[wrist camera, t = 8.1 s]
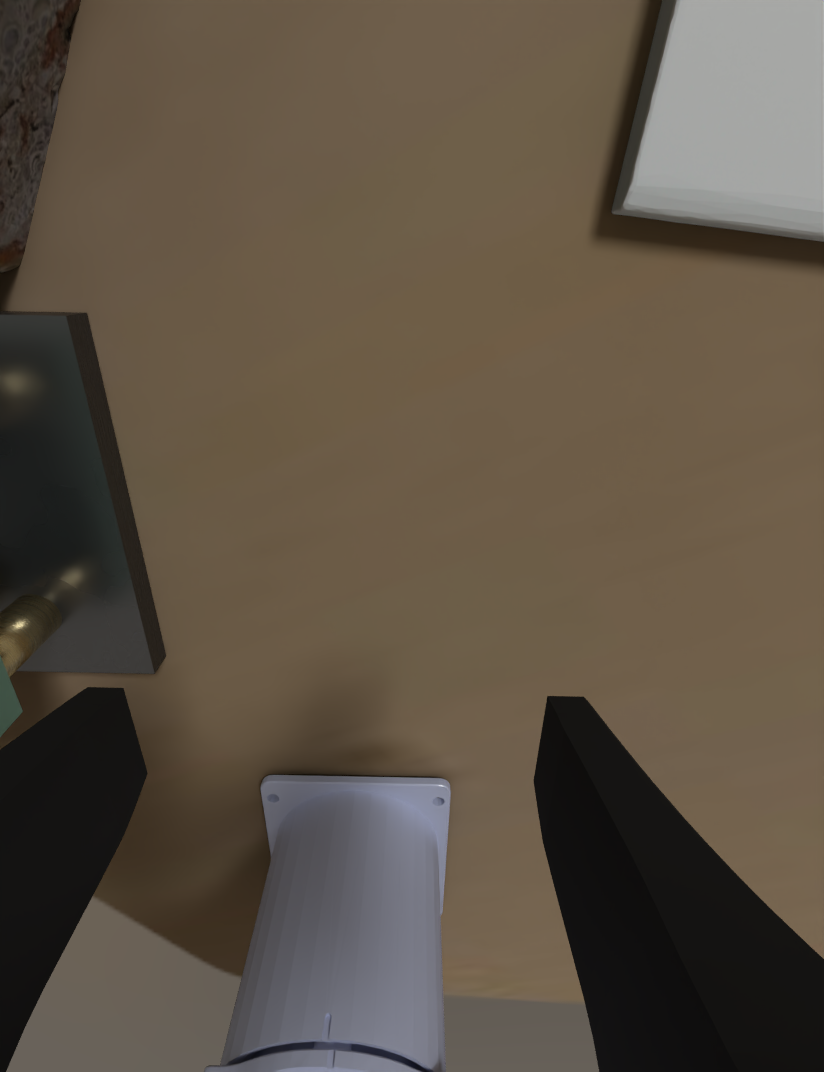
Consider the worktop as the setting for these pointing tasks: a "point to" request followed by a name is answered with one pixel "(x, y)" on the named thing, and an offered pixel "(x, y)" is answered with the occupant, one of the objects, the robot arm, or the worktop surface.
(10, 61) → the geological specimen
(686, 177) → the external hard drive
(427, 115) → the worktop surface
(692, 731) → the worktop surface
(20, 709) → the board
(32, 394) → the plate
